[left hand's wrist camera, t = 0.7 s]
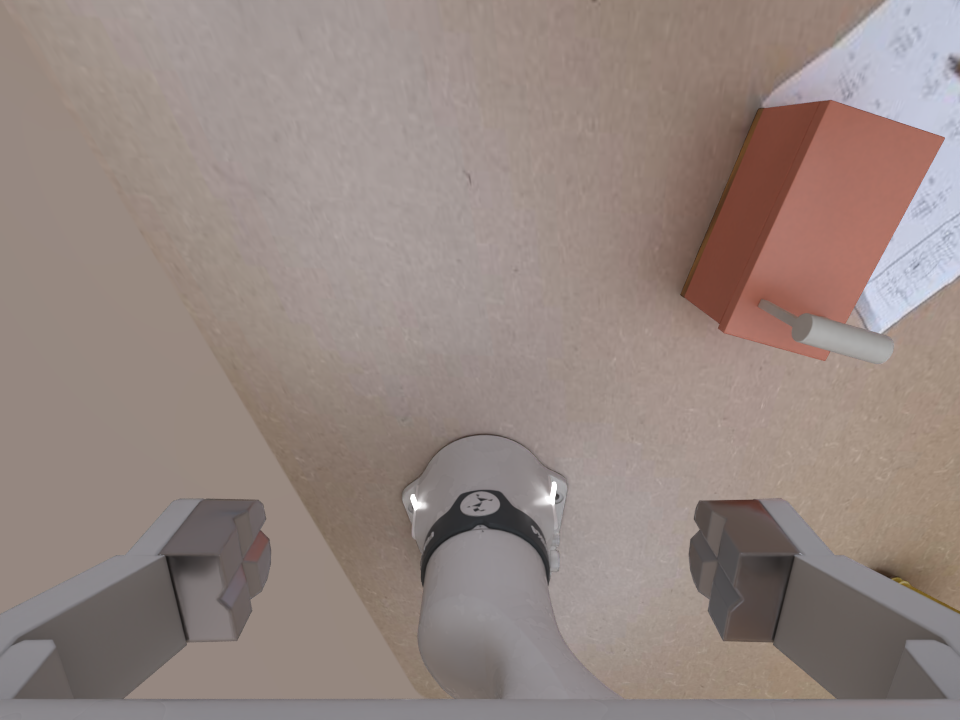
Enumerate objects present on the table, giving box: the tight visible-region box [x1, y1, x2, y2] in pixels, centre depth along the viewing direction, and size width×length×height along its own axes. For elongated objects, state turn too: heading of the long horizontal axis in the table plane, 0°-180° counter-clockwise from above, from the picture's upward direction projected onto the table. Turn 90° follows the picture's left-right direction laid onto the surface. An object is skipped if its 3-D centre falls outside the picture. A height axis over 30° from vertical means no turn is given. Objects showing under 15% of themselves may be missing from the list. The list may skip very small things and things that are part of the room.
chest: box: [681, 101, 821, 324], centre depth 49 cm, size 18×9×10 cm, turn 164°
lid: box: [718, 100, 945, 364], centre depth 40 cm, size 18×9×9 cm, turn 164°
